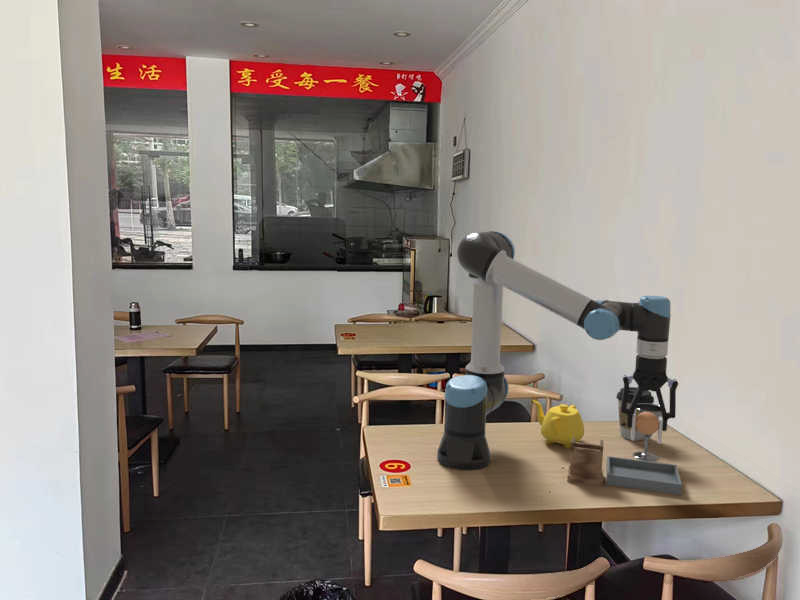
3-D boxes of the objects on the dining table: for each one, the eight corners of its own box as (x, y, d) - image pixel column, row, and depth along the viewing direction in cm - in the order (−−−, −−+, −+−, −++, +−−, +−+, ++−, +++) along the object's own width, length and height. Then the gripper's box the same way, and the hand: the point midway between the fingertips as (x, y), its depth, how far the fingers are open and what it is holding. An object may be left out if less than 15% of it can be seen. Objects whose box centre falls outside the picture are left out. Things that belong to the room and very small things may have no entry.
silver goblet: (662, 463, 178) (666, 412, 176) (633, 460, 180) (637, 410, 178) (657, 452, 186) (661, 404, 184) (629, 450, 188) (632, 402, 185)
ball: (633, 429, 169) (635, 407, 168) (657, 431, 167) (658, 410, 166) (634, 436, 163) (636, 414, 162) (659, 439, 161) (660, 417, 160)
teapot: (571, 432, 202) (573, 396, 200) (592, 448, 188) (595, 411, 186) (530, 434, 199) (532, 398, 198) (549, 451, 186) (551, 413, 184)
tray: (606, 484, 164) (607, 474, 163) (606, 465, 176) (607, 456, 175) (681, 495, 158) (682, 484, 158) (675, 474, 170) (676, 465, 170)
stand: (567, 481, 165) (569, 443, 164) (568, 470, 172) (570, 434, 170) (602, 486, 162) (605, 448, 161) (602, 475, 169) (605, 439, 168)
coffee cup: (607, 430, 204) (610, 386, 202) (640, 429, 205) (643, 385, 203) (623, 443, 193) (626, 396, 190) (658, 442, 194) (662, 396, 192)
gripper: (613, 355, 161) (608, 441, 165) (693, 361, 156) (686, 450, 159) (613, 349, 168) (608, 431, 172) (689, 355, 163) (682, 439, 166)
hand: (645, 440), depth 165 cm, fingers closed on ball, 6 cm apart
